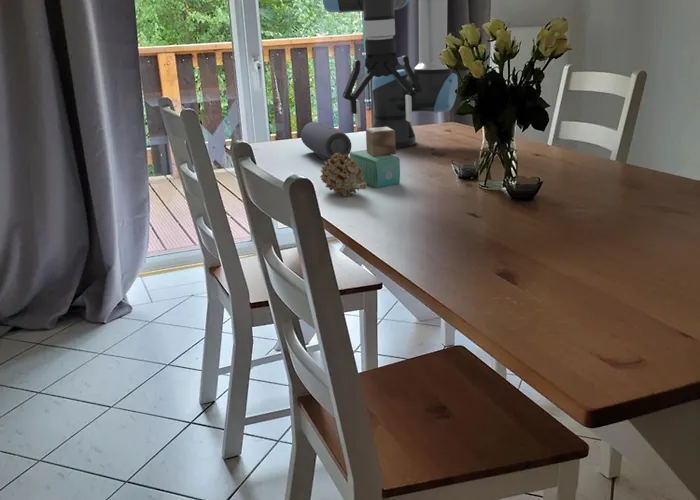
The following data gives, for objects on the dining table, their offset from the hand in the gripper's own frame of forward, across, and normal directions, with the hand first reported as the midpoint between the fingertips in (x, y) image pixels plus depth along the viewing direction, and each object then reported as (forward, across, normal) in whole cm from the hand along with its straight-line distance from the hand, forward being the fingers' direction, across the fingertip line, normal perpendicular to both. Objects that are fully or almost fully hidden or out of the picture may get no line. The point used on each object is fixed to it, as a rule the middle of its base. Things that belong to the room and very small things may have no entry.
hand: (383, 123), depth 180 cm
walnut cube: (+7, +1, +1) cm, 8 cm away
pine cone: (+14, +13, +13) cm, 24 cm away
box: (+15, +3, +1) cm, 15 cm away
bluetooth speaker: (+15, +10, -33) cm, 38 cm away
